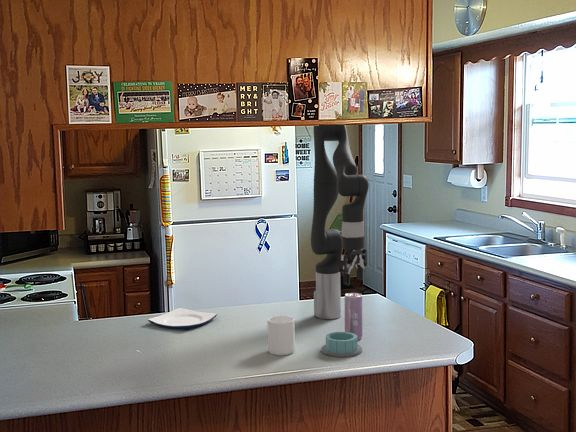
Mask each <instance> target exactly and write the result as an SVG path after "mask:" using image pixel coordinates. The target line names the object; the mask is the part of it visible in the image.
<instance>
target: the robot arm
mask: <svg viewBox="0 0 576 432" xmlns="http://www.w3.org/2000/svg"><path fill="white" fill-rule="evenodd" d="M325 142H338V145H336V148H335V150H334V152H333V154H332V162H331V160H330V158H329V157H328V155H327V152H326V146H325ZM313 145H314V148H313V149H314V168H313V169H314V170H313V171H314V172H313V211H312V224H311V233H310V247H311V250H312V253H314V254H315V255H317V256H321V255H326V256H325V257H324V258H323V259H322V260H321V261H319V262H317V263H316V265H315V290H314V291H313V315H314V317H316V318H318V319H322V320H335V319H339V318H341V314H342V313H341V311H342V310H341V301H342V300H341V297H342V295H341V274H343V275H342V280H343V282H342V284H343V285H345V286H349V285H351V271H352V269H353V268H354V266H355V267H356V280H358V281H363V280H364V269H365V267H367V266H368V252H367V249H365V224H364V223H365V222H364V209H365V203H366V198H367V195H368V193H369V188H370V187H369V186H370V183H369V180H368V178H367V176H366V175H364V174H357V172H358V167H357V164H356V162H355V159H354V157H353V155H352V154H353V153H352V151H351V147H350V141H349V135H348V129H347V125H319V126H314V125H313ZM339 195H340V196H341V197H355V198H354V200H353V201H351V202H348V203H345V204H344V205H342V209H341V212H342V215H341V216H342V217H341V218H342V220H341V221H342V222H341V223H342V224H341V231H340V230H339V229H337V228H326V222H327V218H328V216H329V214H330V212H331V210H332V208H333V207H334V205H335V203H336V202H337V200H338V197H339ZM343 250H344V254H343Z"/></svg>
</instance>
